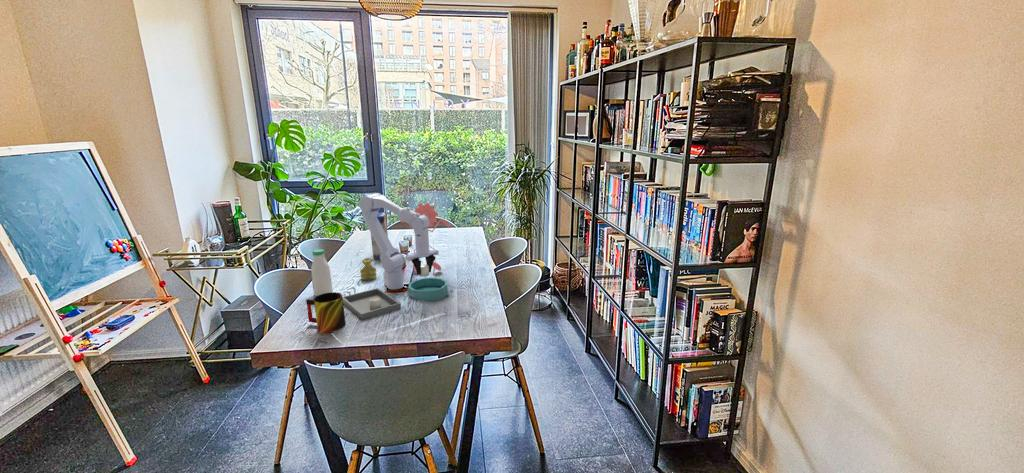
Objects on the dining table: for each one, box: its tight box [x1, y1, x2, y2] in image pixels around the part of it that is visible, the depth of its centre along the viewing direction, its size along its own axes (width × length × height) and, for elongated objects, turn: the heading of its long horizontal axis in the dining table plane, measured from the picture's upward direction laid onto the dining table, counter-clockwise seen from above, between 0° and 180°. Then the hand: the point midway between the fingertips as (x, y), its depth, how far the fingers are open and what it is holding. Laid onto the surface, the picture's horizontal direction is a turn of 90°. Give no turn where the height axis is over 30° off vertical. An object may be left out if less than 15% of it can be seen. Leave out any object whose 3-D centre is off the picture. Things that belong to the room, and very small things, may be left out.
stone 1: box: [369, 298, 381, 311], centre depth 175 cm, size 4×4×4 cm
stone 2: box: [418, 264, 430, 278], centre depth 192 cm, size 4×4×4 cm
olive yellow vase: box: [359, 257, 377, 282], centre depth 211 cm, size 7×7×10 cm
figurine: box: [399, 202, 451, 276], centre depth 219 cm, size 15×26×35 cm, turn 82°
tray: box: [343, 287, 402, 321], centre depth 179 cm, size 22×16×3 cm
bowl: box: [407, 277, 449, 302], centre depth 192 cm, size 17×17×4 cm
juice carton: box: [370, 211, 389, 260], centre depth 245 cm, size 12×8×24 cm, turn 10°
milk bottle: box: [310, 248, 334, 297], centre depth 191 cm, size 8×8×20 cm
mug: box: [305, 291, 346, 335], centre depth 160 cm, size 10×14×12 cm
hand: (424, 273), depth 192 cm, fingers closed on stone 2, 4 cm apart
